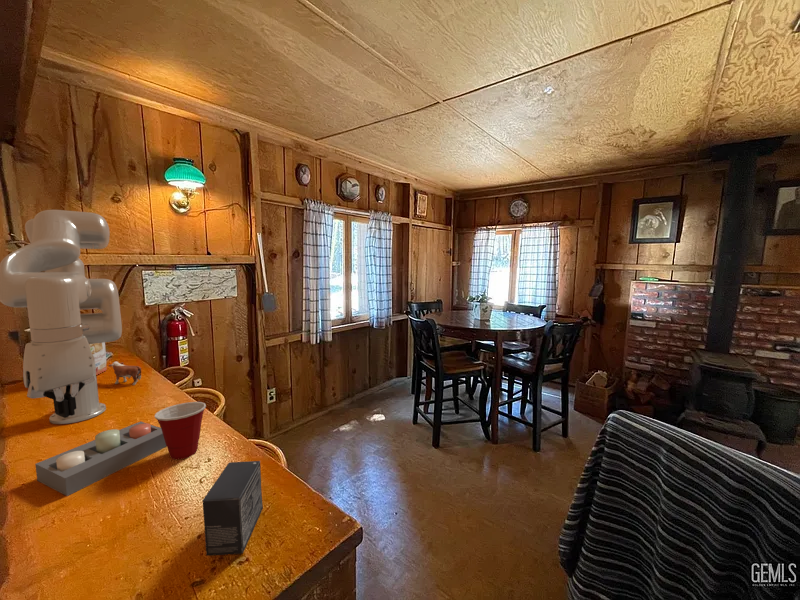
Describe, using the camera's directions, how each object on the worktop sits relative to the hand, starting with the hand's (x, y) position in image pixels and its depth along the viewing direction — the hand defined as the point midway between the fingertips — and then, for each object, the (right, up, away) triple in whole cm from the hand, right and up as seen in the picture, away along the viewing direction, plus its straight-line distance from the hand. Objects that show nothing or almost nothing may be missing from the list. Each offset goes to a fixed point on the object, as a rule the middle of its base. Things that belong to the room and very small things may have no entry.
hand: (66, 414), depth 72 cm
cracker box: (-54, -6, +63) cm, 83 cm away
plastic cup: (+18, -14, +12) cm, 26 cm away
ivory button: (0, -14, +1) cm, 14 cm away
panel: (+3, -14, +8) cm, 16 cm away
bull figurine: (-34, -8, +57) cm, 67 cm away
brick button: (+5, -13, +14) cm, 20 cm away
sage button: (+3, -12, +8) cm, 14 cm away
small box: (+43, -17, -12) cm, 48 cm away
